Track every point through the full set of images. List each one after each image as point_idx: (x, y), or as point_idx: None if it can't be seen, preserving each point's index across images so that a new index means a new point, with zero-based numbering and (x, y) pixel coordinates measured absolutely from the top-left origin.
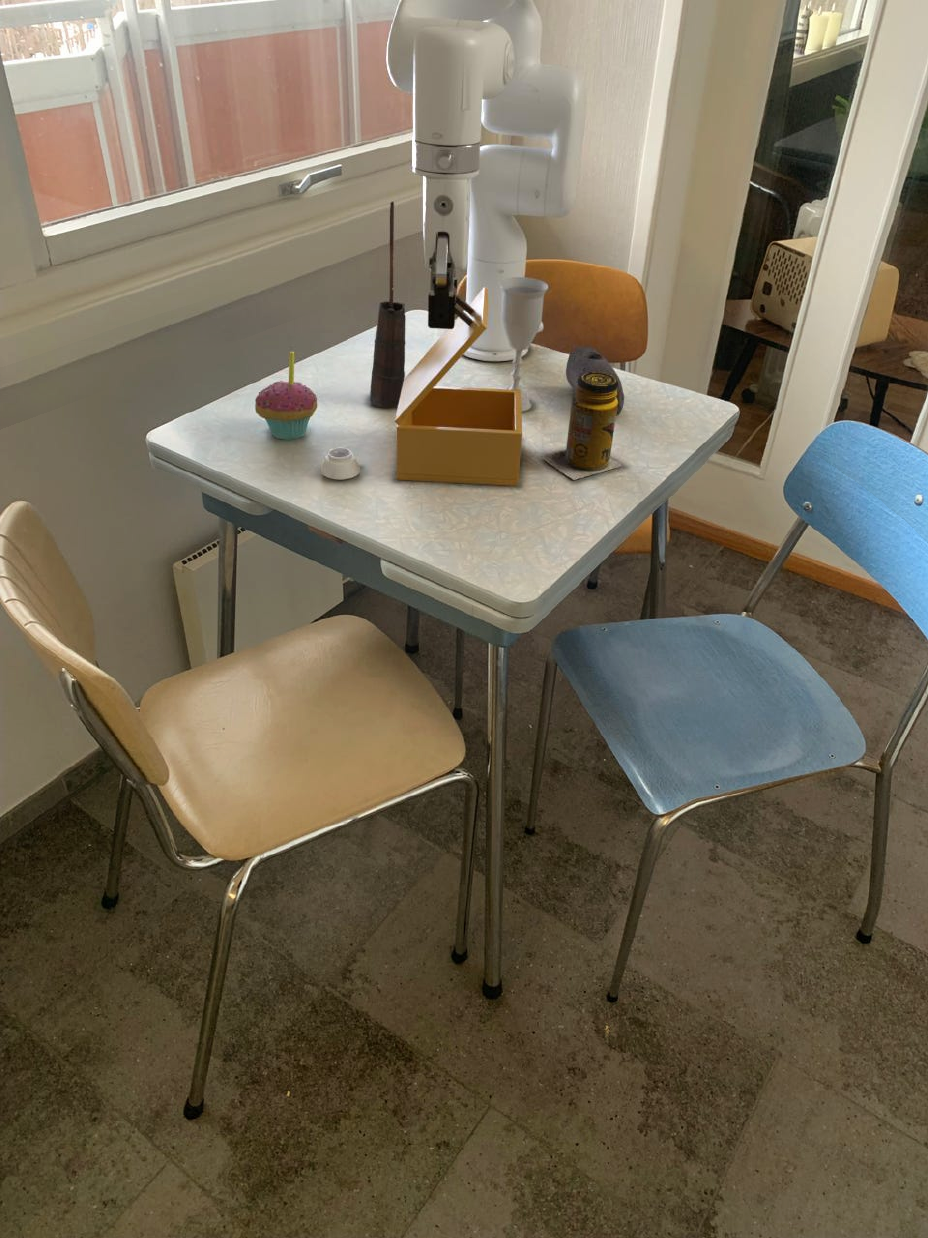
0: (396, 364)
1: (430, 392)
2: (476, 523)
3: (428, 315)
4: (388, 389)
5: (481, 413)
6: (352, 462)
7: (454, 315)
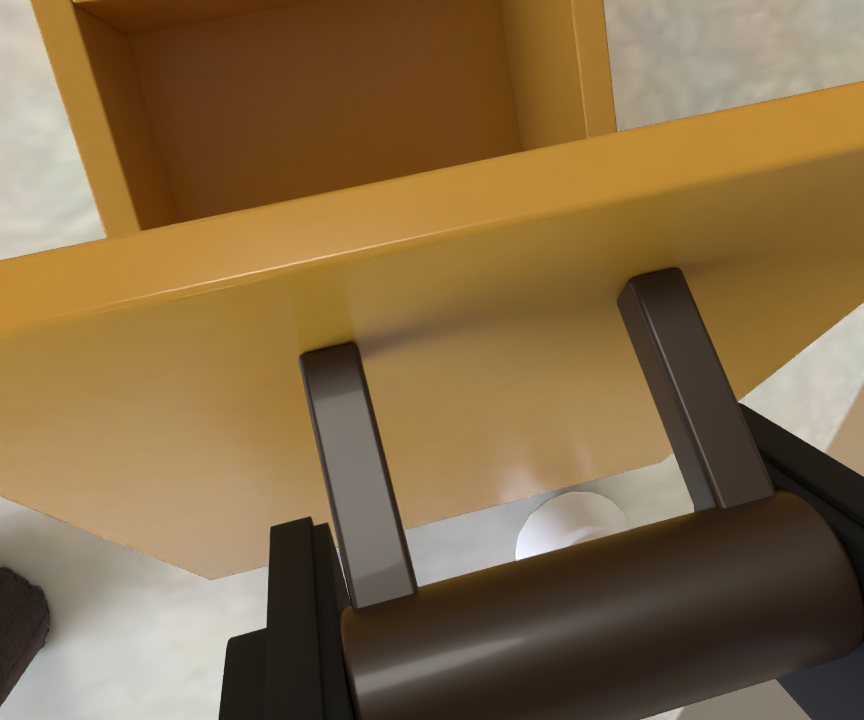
0: None
1: None
2: (781, 48)
3: None
4: (12, 635)
5: (152, 181)
6: (600, 523)
7: (800, 442)
